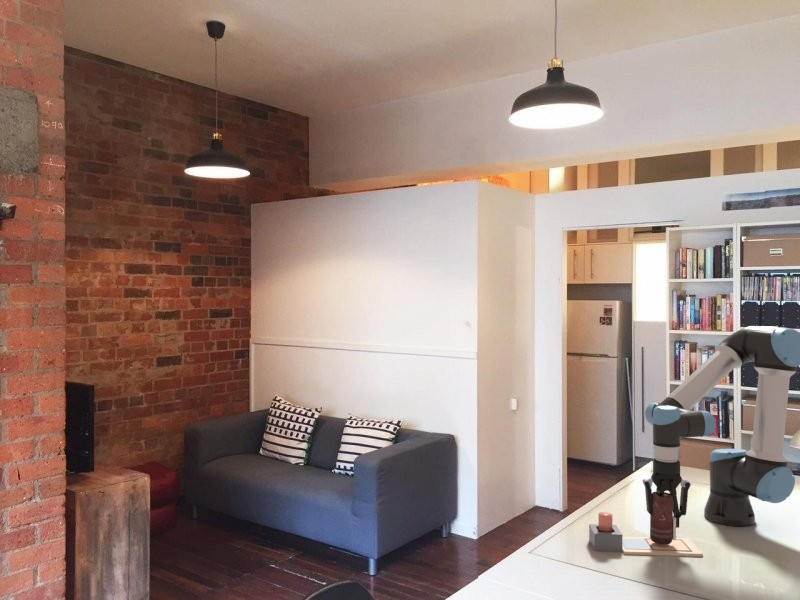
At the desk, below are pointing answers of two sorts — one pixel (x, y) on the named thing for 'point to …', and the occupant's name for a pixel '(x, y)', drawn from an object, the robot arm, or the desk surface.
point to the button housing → (605, 539)
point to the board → (659, 547)
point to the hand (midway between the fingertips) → (666, 537)
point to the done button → (605, 521)
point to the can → (661, 519)
